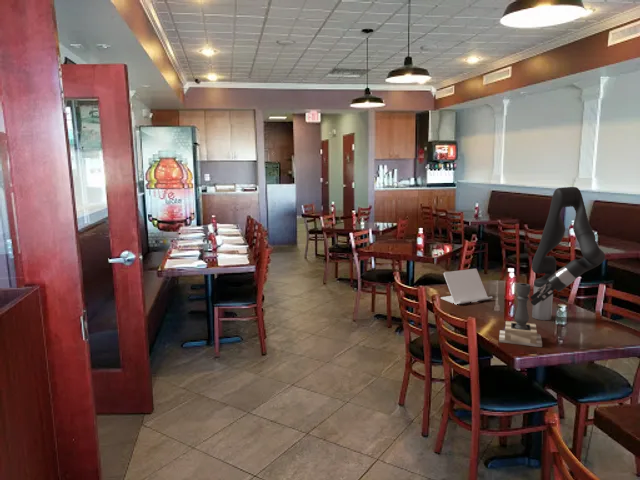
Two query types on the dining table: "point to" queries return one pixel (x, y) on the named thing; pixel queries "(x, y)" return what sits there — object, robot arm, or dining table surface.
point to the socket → (520, 335)
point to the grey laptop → (465, 287)
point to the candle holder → (522, 306)
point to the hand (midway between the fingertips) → (531, 301)
